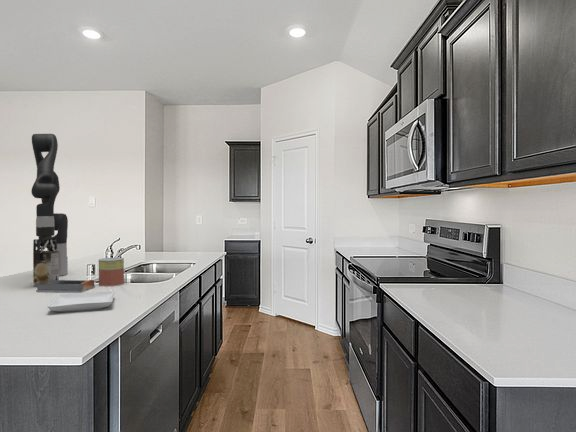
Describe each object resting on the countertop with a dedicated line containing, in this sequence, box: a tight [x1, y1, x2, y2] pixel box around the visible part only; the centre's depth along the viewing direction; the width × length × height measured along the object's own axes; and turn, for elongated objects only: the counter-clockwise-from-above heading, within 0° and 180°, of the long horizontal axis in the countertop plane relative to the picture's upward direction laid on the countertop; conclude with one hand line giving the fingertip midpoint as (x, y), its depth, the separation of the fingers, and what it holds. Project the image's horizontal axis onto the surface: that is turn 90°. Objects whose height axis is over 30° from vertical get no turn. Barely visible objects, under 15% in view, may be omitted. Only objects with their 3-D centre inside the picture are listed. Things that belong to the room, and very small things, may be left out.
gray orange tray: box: [36, 279, 96, 294], centre depth 187 cm, size 12×20×4 cm, turn 88°
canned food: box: [98, 257, 125, 287], centre depth 200 cm, size 11×11×12 cm
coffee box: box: [32, 250, 60, 287], centre depth 196 cm, size 9×6×16 cm
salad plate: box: [47, 290, 115, 313], centre depth 158 cm, size 21×21×3 cm
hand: (45, 260), depth 196 cm, fingers open, 8 cm apart
